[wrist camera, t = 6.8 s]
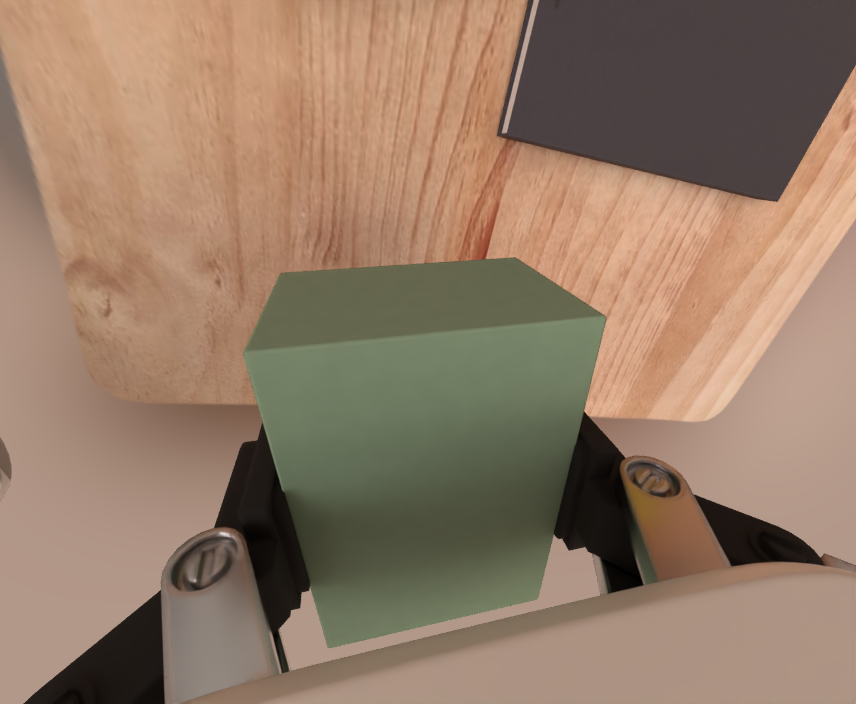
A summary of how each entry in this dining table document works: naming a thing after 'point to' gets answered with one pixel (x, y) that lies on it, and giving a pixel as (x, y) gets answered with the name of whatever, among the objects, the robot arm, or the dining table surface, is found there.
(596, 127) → the notebook
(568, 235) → the dining table surface
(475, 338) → the pad
